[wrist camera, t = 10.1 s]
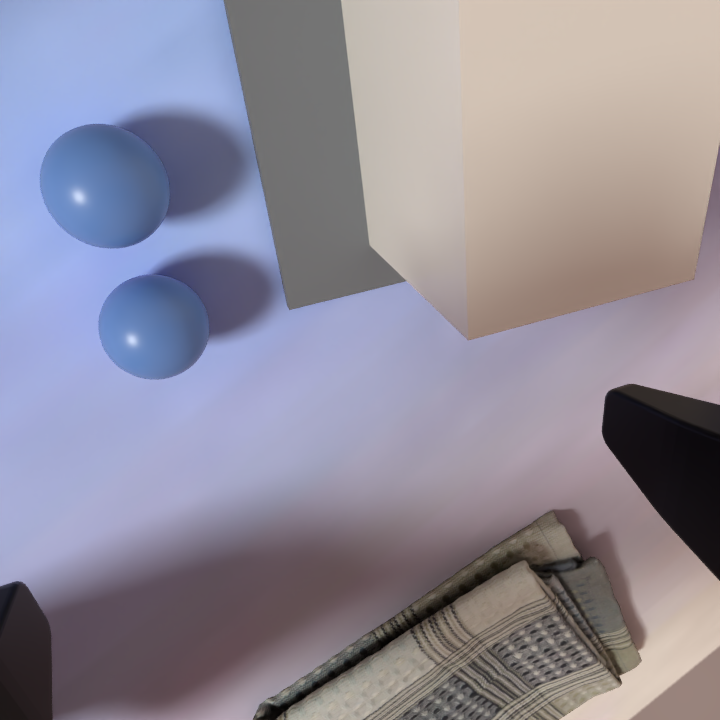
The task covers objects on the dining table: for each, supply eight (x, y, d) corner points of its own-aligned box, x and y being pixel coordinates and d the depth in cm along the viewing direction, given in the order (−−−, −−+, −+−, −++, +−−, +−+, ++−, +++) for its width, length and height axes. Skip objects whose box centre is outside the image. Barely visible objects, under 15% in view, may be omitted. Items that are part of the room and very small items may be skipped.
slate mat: (601, 227, 22) (608, 230, 21) (287, 305, 19) (289, 309, 19) (642, -209, 16) (653, -214, 15) (187, -173, 13) (188, -178, 13)
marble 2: (215, 337, 19) (225, 382, 17) (121, 360, 19) (117, 411, 16) (190, 250, 18) (197, 286, 15) (87, 272, 17) (76, 314, 15)
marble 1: (181, 217, 17) (187, 249, 15) (73, 239, 17) (60, 277, 14) (149, 107, 16) (150, 122, 13) (30, 128, 15) (6, 147, 13)
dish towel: (404, 794, 39) (423, 850, 37) (243, 698, 29) (253, 764, 27) (636, 637, 39) (672, 682, 36) (551, 486, 29) (592, 532, 26)
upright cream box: (535, 207, 20) (694, 279, 14) (369, 245, 19) (467, 340, 13) (547, -130, 15) (789, -228, 10) (328, -108, 14) (453, -206, 8)
